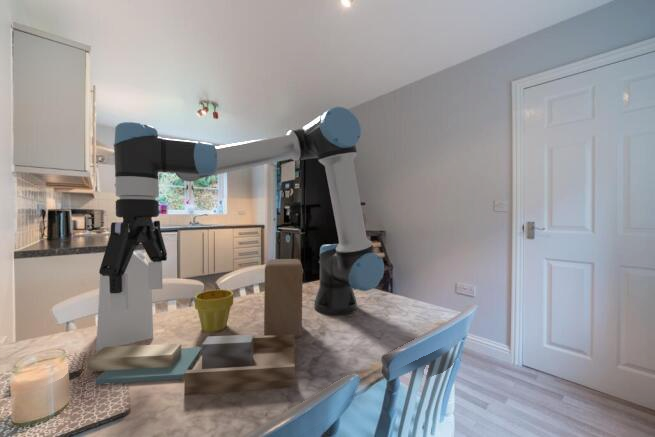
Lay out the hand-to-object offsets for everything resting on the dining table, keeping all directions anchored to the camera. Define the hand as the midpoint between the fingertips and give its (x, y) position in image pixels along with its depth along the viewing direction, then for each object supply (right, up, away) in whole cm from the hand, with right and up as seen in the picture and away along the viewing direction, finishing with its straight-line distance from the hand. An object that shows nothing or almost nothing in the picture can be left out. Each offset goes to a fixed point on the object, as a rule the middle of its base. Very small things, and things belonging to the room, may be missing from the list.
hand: (139, 297), depth 57 cm
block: (+28, -15, +18) cm, 37 cm away
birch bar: (-1, -14, 0) cm, 14 cm away
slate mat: (+3, -15, 0) cm, 15 cm away
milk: (-14, -15, +15) cm, 25 cm away
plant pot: (+7, -15, +21) cm, 27 cm away
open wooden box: (+23, -15, 0) cm, 28 cm away
